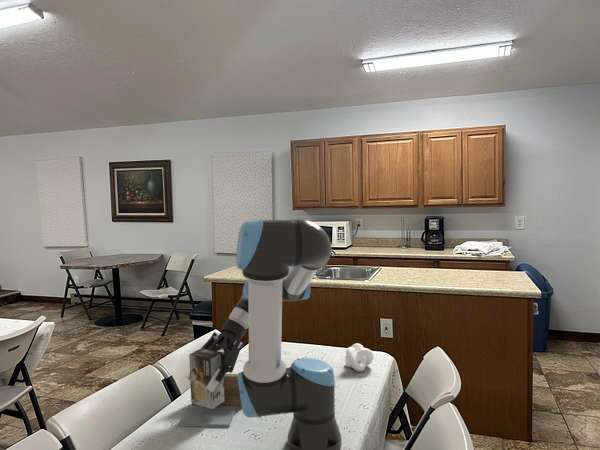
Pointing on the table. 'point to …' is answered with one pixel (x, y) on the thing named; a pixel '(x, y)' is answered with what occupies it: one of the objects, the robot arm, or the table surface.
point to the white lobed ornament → (358, 357)
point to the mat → (207, 416)
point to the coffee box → (205, 377)
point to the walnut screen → (231, 390)
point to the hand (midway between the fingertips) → (199, 385)
